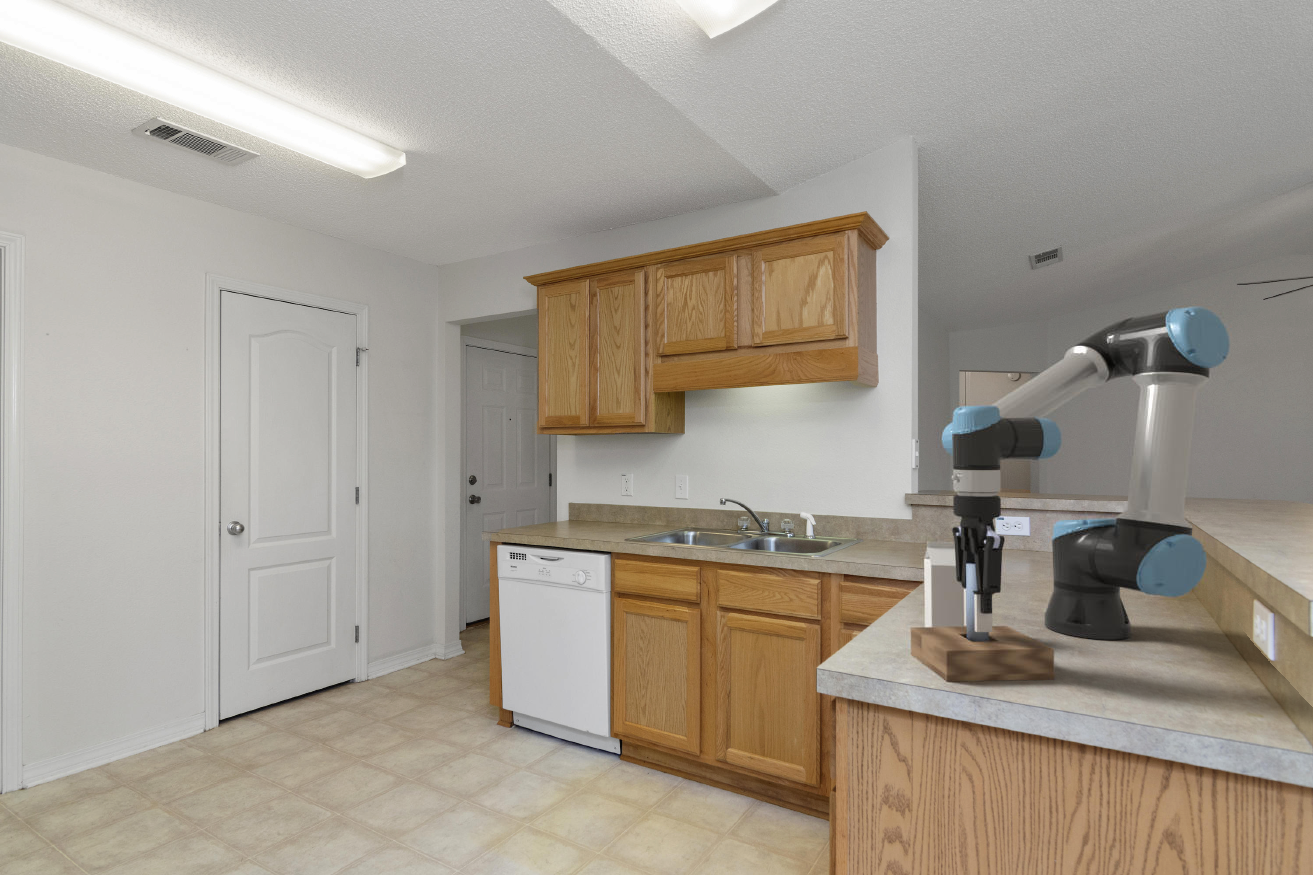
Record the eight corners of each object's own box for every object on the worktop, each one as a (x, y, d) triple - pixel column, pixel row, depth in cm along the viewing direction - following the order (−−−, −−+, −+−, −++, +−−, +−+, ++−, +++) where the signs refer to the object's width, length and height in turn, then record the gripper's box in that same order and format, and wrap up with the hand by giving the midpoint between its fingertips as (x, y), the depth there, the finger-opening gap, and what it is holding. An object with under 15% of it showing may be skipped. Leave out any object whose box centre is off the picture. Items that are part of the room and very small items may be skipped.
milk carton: (970, 642, 131) (969, 545, 131) (931, 640, 132) (930, 544, 133) (961, 632, 138) (960, 540, 138) (924, 630, 139) (923, 539, 140)
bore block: (1006, 652, 124) (1006, 625, 124) (1054, 679, 110) (1053, 648, 110) (911, 654, 124) (910, 627, 124) (946, 681, 110) (946, 650, 110)
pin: (982, 647, 119) (981, 562, 119) (993, 653, 115) (992, 566, 116) (963, 647, 119) (962, 563, 119) (973, 654, 115) (972, 566, 115)
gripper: (934, 491, 125) (936, 617, 125) (979, 497, 109) (980, 642, 109) (974, 490, 126) (975, 616, 125) (1024, 497, 110) (1026, 641, 109)
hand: (978, 628), depth 117 cm, fingers closed on pin, 3 cm apart
